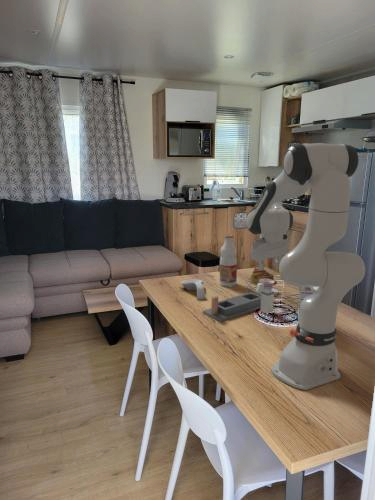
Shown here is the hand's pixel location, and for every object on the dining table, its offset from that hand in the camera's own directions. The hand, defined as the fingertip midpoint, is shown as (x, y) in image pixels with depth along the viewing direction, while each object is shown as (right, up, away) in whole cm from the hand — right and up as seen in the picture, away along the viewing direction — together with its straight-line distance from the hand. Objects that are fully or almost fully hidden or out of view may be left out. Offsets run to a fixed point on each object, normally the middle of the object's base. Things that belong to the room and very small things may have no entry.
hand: (268, 267), depth 160 cm
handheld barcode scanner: (-32, -15, +32) cm, 48 cm away
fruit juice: (-13, -12, +44) cm, 47 cm away
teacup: (+6, -15, +31) cm, 35 cm away
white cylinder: (0, -21, +5) cm, 21 cm away
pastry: (+6, -11, +49) cm, 50 cm away
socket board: (-12, -20, +9) cm, 25 cm away
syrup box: (+14, -23, -4) cm, 27 cm away
